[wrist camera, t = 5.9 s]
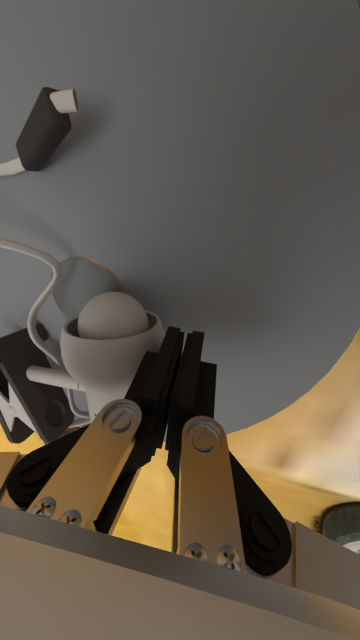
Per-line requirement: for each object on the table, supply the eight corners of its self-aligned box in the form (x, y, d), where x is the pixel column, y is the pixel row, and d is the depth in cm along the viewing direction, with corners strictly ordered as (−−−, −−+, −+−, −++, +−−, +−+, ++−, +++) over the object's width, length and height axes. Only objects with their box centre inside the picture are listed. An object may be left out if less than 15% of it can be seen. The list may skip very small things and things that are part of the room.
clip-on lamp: (-15, 154, 13) (44, 406, 19) (-220, 89, 7) (-44, 477, 13) (178, 131, 10) (177, 438, 16) (87, -10, 4) (137, 548, 10)
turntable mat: (-422, -219, 7) (-438, -229, 7) (757, -277, 4) (777, -295, 4) (-29, 399, 24) (-31, 400, 23) (263, 469, 21) (264, 472, 21)
